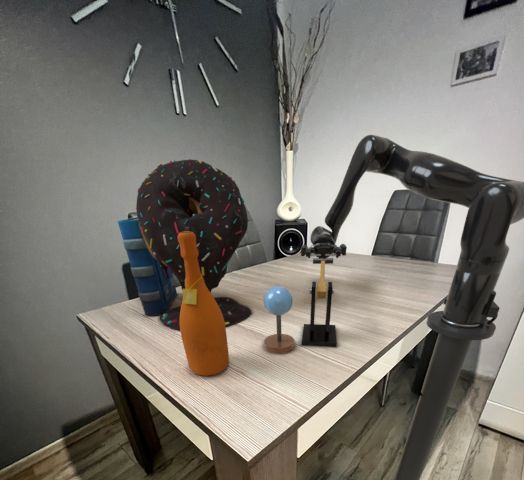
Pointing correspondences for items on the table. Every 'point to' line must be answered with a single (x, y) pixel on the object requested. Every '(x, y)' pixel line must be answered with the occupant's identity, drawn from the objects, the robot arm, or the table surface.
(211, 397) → the table surface
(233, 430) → the table surface
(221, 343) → the wine bottle
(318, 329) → the stand
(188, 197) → the dark brown sprinkled donut
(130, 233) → the book
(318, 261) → the yellow switch lever
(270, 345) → the blue lamp
